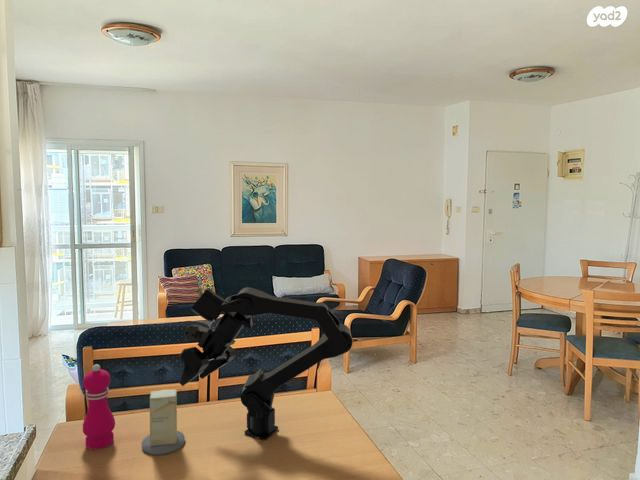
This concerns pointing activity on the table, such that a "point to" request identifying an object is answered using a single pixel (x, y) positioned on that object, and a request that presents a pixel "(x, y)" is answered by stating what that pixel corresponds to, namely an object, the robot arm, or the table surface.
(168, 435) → the skincare box
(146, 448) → the charcoal coaster
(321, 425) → the table surface
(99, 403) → the pepper mill
